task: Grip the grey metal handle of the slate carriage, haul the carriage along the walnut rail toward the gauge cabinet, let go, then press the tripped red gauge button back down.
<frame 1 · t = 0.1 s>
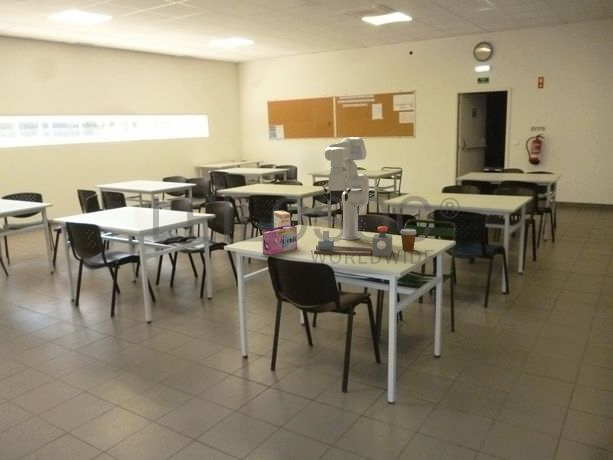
hand: (337, 200, 292), 31 cm above the table, fingers open, 9 cm apart
coffeecake box: (282, 241, 334), on the table
disposable coffee cup: (408, 250, 303), on the table
gauge cabinet: (382, 253, 295), on the table
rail: (343, 252, 300), on the table
carriage: (326, 239, 302), point 7 cm above the table, slide at 0.0 cm
gauge button: (382, 234, 293), point 11 cm above the table, slide at 0.0 cm
gum box: (280, 250, 309), on the table
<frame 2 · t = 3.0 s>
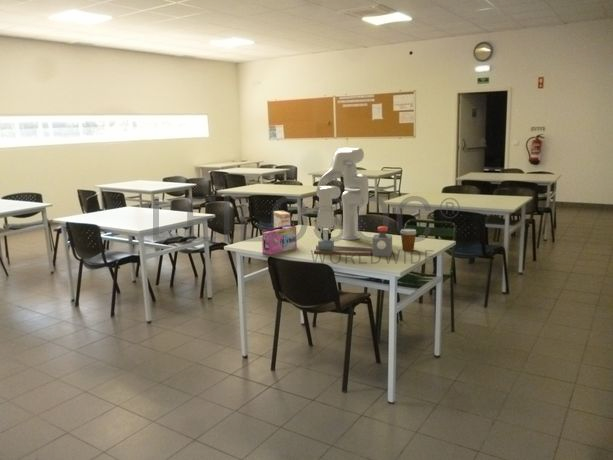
hand: (326, 239, 302), 8 cm above the table, fingers closed on carriage, 3 cm apart
carriage: (326, 239, 302), point 7 cm above the table, slide at 0.0 cm, touching gripper
everything else where it was.
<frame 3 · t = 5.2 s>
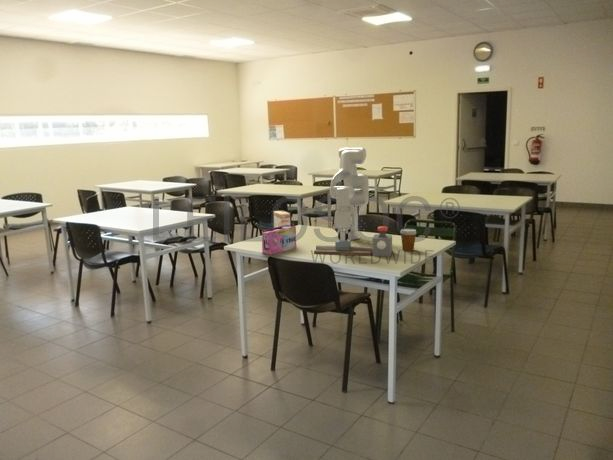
hand: (343, 239, 299), 8 cm above the table, fingers closed on carriage, 3 cm apart
carriage: (343, 240, 299), point 7 cm above the table, slide at 10.2 cm, touching gripper
everything else where it was.
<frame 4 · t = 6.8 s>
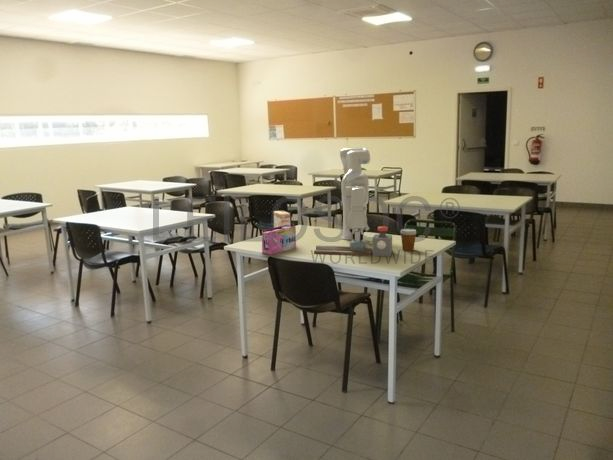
hand: (357, 240, 297), 8 cm above the table, fingers closed on carriage, 3 cm apart
carriage: (357, 240, 297), point 7 cm above the table, slide at 18.8 cm, touching gripper
everything else where it was.
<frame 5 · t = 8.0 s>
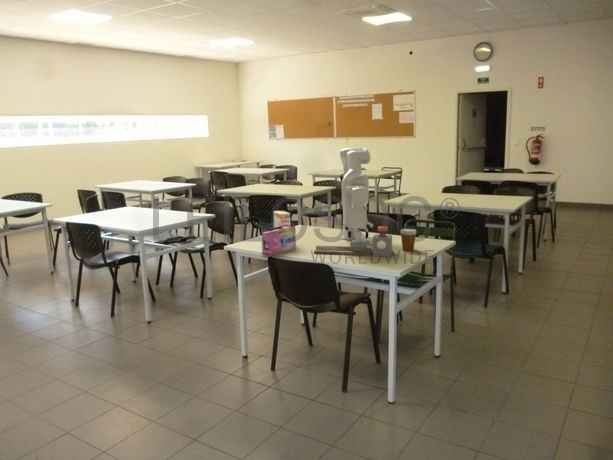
hand: (358, 238, 297), 9 cm above the table, fingers open, 9 cm apart
carriage: (358, 240, 297), point 7 cm above the table, slide at 19.0 cm
everything else where it was.
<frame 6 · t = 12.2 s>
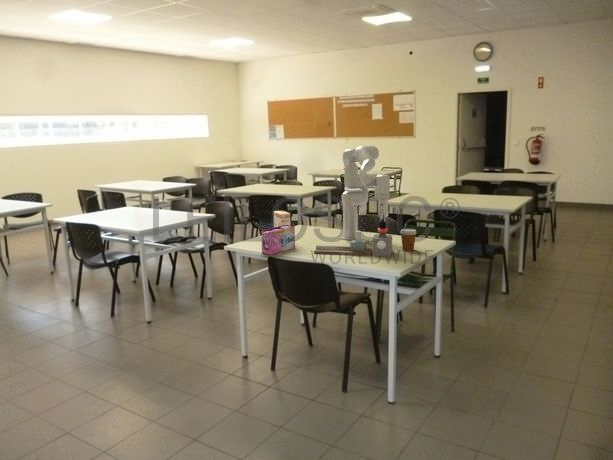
hand: (382, 228, 292), 15 cm above the table, fingers closed
gauge button: (382, 236, 293), point 10 cm above the table, slide at -0.8 cm, touching gripper
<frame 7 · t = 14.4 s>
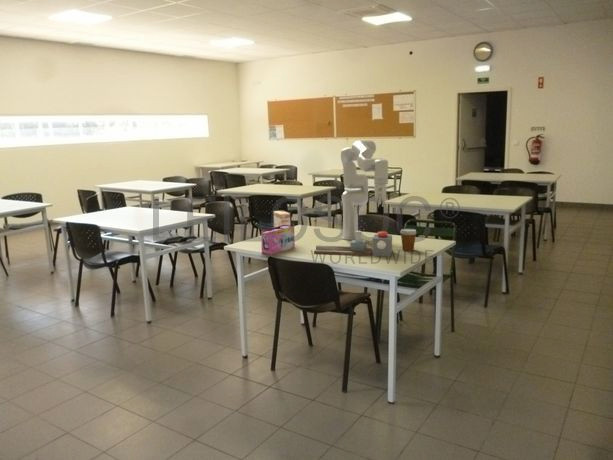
hand: (380, 213, 292), 23 cm above the table, fingers closed
gauge button: (382, 240, 294), point 8 cm above the table, slide at -3.0 cm
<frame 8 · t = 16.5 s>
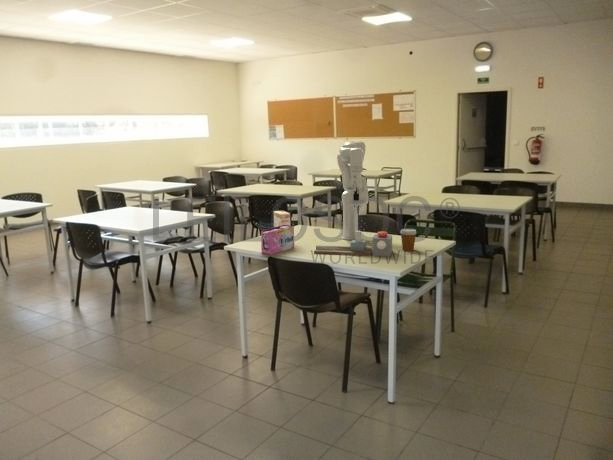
hand: (356, 200, 306), 29 cm above the table, fingers closed
at the end: carriage slide at 19.0 cm; gauge button slide at -3.0 cm; the gripper is holding nothing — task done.
